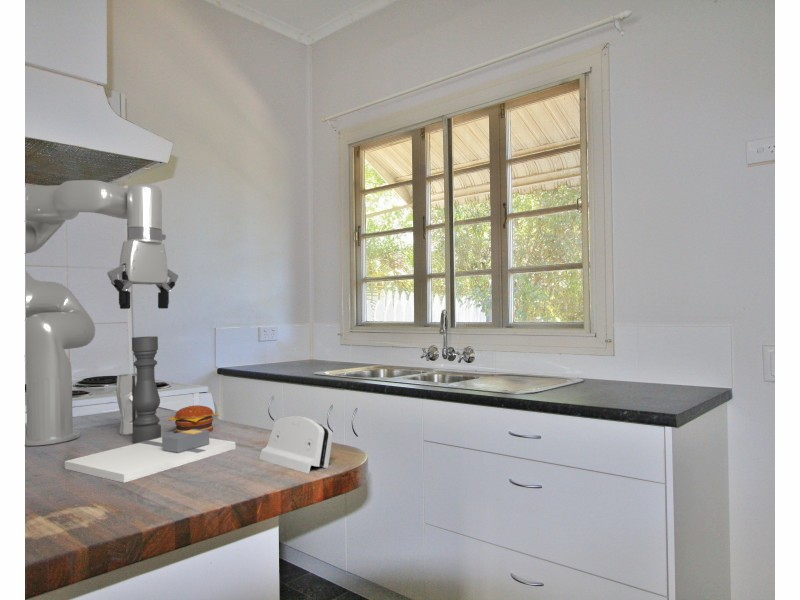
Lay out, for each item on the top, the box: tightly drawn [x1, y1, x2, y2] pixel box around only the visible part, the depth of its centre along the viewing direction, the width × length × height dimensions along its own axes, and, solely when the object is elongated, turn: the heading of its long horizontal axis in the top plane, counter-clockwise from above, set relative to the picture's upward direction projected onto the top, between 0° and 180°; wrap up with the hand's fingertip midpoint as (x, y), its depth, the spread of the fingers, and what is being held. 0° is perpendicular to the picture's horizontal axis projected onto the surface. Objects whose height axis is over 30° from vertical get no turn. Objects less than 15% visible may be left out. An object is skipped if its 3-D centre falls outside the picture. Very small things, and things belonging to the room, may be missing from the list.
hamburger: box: [168, 404, 220, 433], centre depth 139 cm, size 9×10×7 cm
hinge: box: [258, 415, 334, 474], centre depth 109 cm, size 17×5×10 cm, turn 47°
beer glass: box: [116, 372, 138, 436], centre depth 139 cm, size 7×7×15 cm
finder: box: [161, 429, 210, 453], centre depth 116 cm, size 5×8×3 cm, turn 149°
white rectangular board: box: [64, 436, 236, 484], centre depth 114 cm, size 20×26×2 cm
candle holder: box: [131, 335, 162, 444], centre depth 130 cm, size 6×6×25 cm
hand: (144, 308), depth 128 cm, fingers open, 9 cm apart
